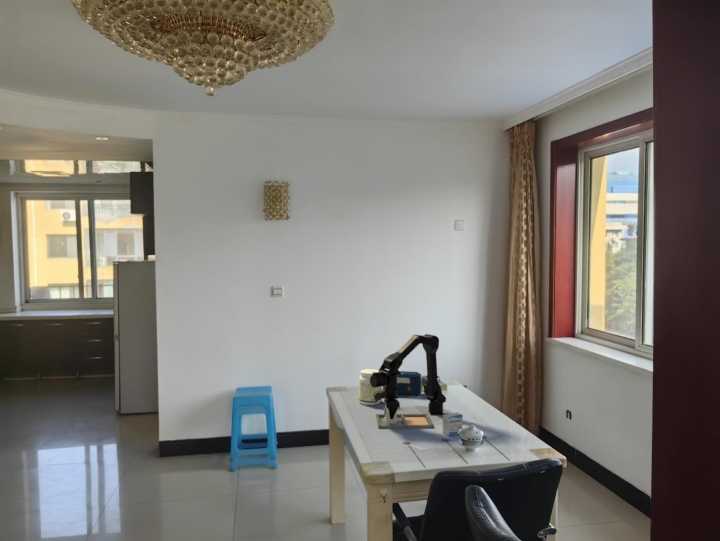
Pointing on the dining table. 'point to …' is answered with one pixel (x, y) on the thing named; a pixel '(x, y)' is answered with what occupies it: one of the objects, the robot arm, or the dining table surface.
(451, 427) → the medicine box
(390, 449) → the dining table surface
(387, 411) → the plug
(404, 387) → the radio
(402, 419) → the dock
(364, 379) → the supplement tub
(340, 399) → the dining table surface
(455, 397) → the dining table surface
